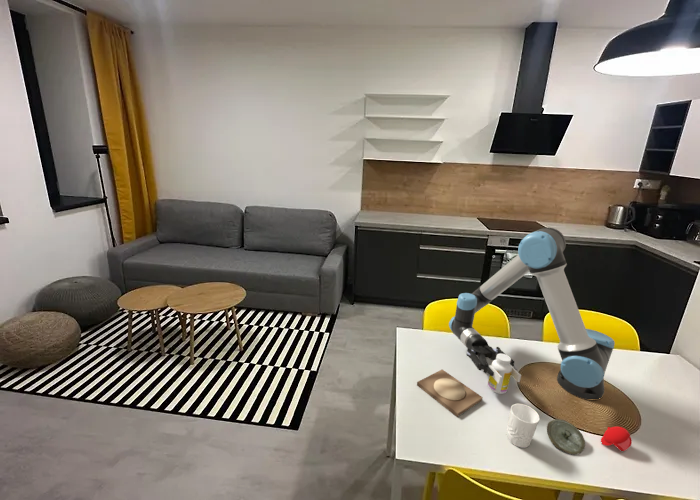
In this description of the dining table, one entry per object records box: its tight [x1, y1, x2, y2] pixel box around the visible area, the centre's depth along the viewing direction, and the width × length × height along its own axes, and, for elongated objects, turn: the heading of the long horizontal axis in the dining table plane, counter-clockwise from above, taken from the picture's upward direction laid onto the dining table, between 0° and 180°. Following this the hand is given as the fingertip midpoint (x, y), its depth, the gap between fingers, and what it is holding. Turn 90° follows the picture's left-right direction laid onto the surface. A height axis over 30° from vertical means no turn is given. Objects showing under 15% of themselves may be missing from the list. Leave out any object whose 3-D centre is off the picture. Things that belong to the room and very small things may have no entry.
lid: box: [546, 418, 586, 456], centre depth 108 cm, size 11×10×5 cm
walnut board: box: [416, 369, 483, 418], centre depth 126 cm, size 18×14×2 cm
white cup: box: [505, 403, 541, 449], centre depth 107 cm, size 8×8×10 cm
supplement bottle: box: [487, 353, 512, 395], centre depth 124 cm, size 7×7×13 cm
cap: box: [600, 426, 633, 452], centre depth 108 cm, size 8×6×6 cm
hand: (509, 379), depth 119 cm, fingers closed on supplement bottle, 7 cm apart
